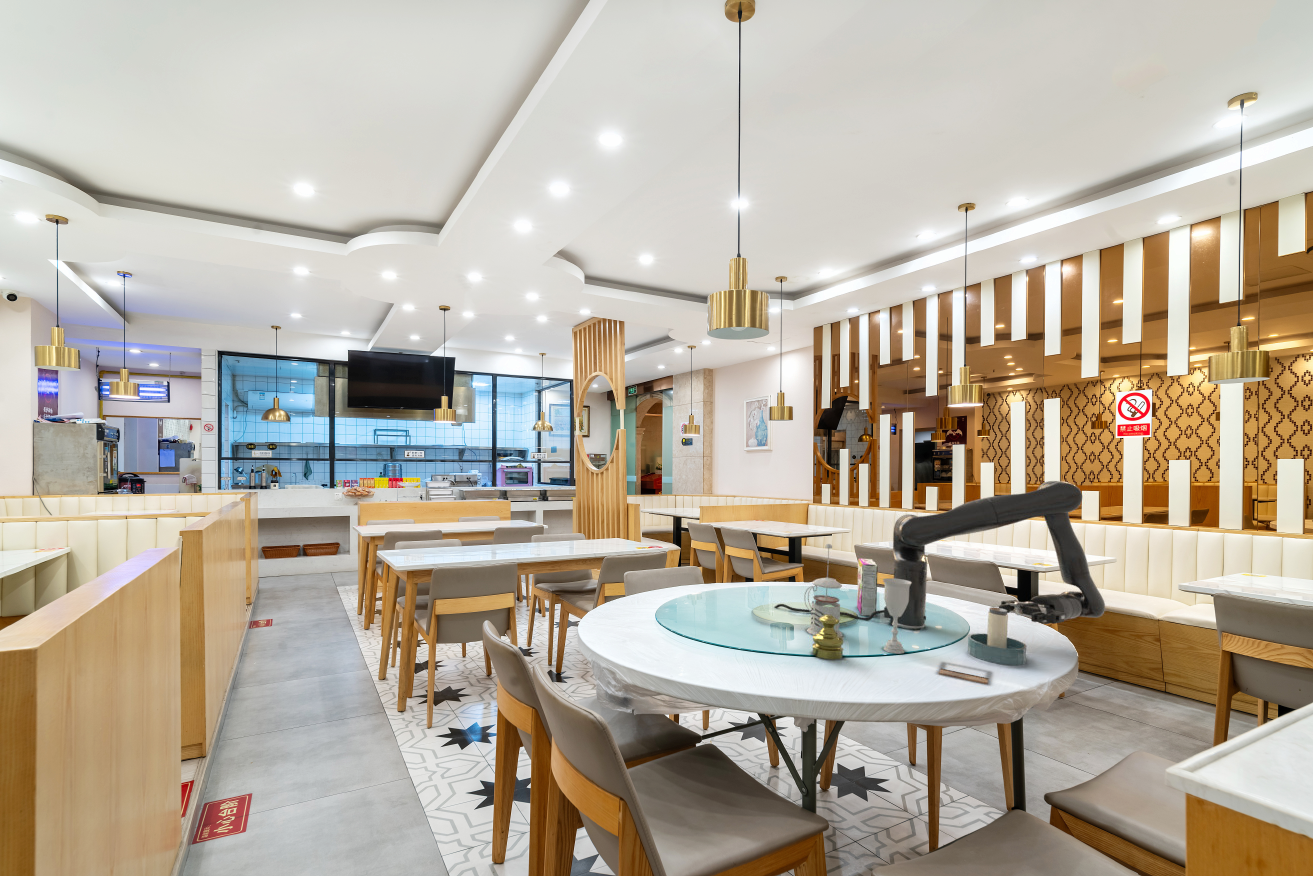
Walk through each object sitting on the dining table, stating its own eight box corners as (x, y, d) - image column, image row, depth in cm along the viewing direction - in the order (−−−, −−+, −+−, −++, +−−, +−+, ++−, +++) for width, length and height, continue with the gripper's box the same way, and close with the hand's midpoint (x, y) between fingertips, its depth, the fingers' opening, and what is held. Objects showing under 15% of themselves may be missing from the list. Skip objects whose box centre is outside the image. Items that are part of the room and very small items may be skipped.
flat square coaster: (938, 674, 144) (938, 672, 144) (943, 662, 153) (943, 661, 153) (987, 684, 139) (987, 682, 139) (989, 672, 148) (989, 670, 148)
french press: (829, 640, 167) (834, 547, 167) (794, 629, 175) (798, 541, 176) (849, 634, 173) (853, 545, 174) (814, 624, 182) (818, 539, 182)
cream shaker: (986, 656, 157) (988, 609, 158) (987, 652, 161) (988, 606, 161) (1005, 660, 155) (1007, 612, 155) (1006, 656, 159) (1008, 609, 159)
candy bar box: (855, 607, 206) (857, 558, 206) (871, 608, 205) (873, 559, 205) (859, 615, 195) (862, 563, 195) (876, 617, 194) (878, 565, 194)
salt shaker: (848, 656, 154) (849, 616, 154) (834, 662, 148) (836, 621, 148) (821, 648, 159) (822, 609, 159) (806, 654, 153) (808, 614, 153)
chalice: (894, 656, 156) (897, 584, 156) (873, 647, 162) (876, 579, 162) (914, 653, 159) (917, 583, 160) (893, 645, 165) (896, 577, 166)
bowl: (965, 659, 156) (966, 641, 156) (969, 647, 167) (970, 630, 167) (1025, 671, 149) (1026, 652, 149) (1025, 657, 160) (1026, 640, 161)
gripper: (1025, 589, 177) (990, 593, 169) (1079, 601, 164) (1044, 605, 156) (1024, 615, 176) (989, 620, 168) (1078, 629, 164) (1043, 635, 156)
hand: (1016, 613), depth 162 cm, fingers open, 8 cm apart
